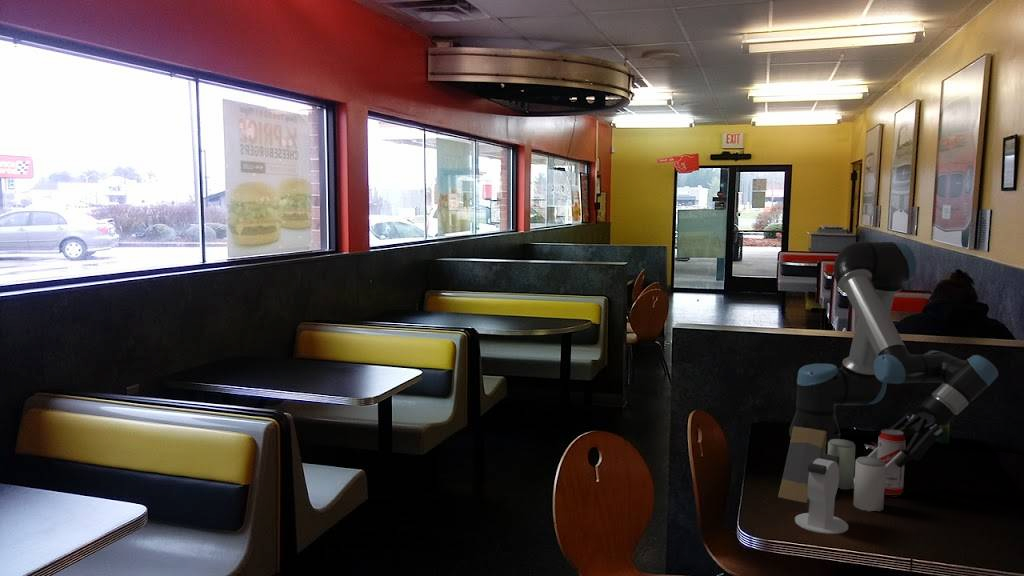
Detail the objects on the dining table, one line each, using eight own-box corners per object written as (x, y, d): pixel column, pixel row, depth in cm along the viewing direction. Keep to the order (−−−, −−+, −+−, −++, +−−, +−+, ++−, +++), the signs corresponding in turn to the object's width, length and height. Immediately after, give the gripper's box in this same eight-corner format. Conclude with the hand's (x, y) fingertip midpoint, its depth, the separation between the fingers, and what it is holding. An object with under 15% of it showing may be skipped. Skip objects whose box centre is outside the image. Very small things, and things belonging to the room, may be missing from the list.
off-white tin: (848, 501, 188) (850, 456, 187) (874, 501, 188) (877, 456, 187) (861, 511, 181) (864, 464, 180) (888, 511, 182) (891, 464, 180)
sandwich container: (776, 497, 191) (778, 439, 189) (790, 480, 203) (792, 425, 202) (812, 504, 186) (815, 445, 185) (824, 486, 199) (826, 430, 197)
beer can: (880, 486, 198) (884, 427, 197) (906, 493, 194) (909, 431, 192) (871, 492, 194) (874, 431, 193) (897, 499, 190) (901, 436, 188)
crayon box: (929, 436, 245) (931, 401, 244) (939, 437, 245) (941, 401, 243) (938, 443, 238) (941, 407, 237) (949, 443, 237) (951, 407, 236)
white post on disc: (805, 509, 182) (808, 448, 181) (855, 521, 175) (858, 458, 174) (787, 524, 173) (790, 460, 172) (839, 538, 166) (842, 471, 165)
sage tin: (821, 480, 203) (823, 438, 202) (846, 480, 203) (848, 438, 202) (833, 489, 196) (835, 446, 195) (858, 489, 196) (860, 446, 195)
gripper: (978, 427, 183) (909, 492, 183) (929, 406, 203) (866, 465, 204) (958, 405, 182) (888, 471, 183) (910, 386, 202) (848, 445, 203)
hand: (877, 467), depth 193 cm, fingers open, 8 cm apart
